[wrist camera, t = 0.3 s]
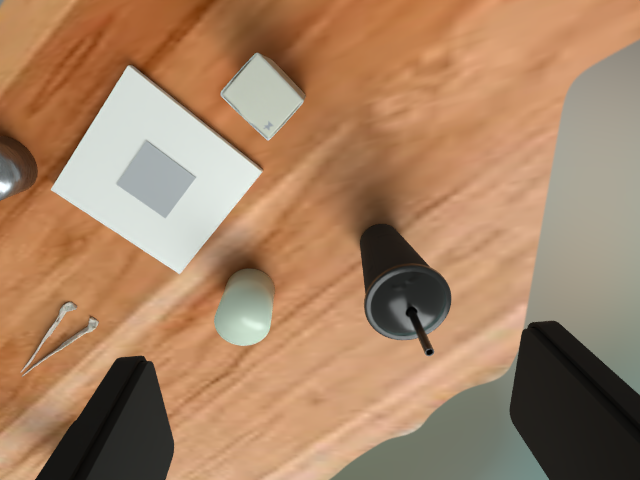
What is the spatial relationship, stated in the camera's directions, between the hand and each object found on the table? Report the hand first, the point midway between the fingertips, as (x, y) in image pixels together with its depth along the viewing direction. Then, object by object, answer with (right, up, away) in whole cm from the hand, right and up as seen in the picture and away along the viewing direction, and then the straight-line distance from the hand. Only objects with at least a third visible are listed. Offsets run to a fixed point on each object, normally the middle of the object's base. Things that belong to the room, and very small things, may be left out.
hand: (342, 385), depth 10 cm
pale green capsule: (-9, -3, +39) cm, 40 cm away
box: (-5, +19, +30) cm, 36 cm away
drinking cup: (+7, +3, +37) cm, 38 cm away
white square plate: (-18, +10, +33) cm, 39 cm away
